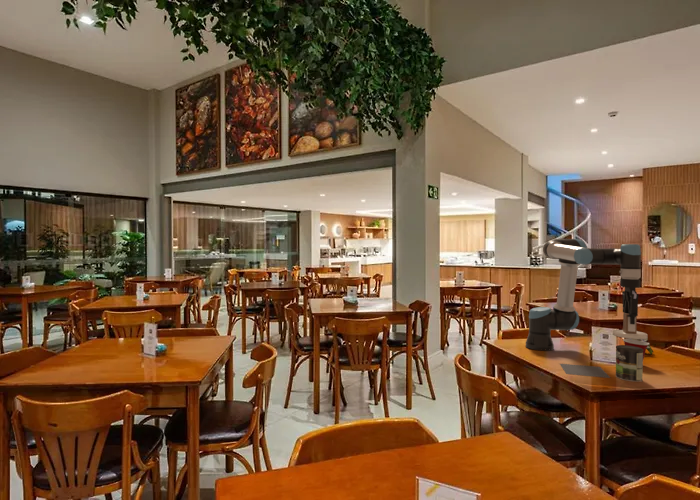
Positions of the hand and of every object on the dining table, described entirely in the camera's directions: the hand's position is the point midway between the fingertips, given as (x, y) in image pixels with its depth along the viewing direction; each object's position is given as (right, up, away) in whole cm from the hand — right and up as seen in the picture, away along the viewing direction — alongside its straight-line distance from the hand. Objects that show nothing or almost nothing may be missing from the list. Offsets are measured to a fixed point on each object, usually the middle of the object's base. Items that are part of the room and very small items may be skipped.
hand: (629, 330), depth 186 cm
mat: (-14, -22, +11) cm, 28 cm away
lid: (0, -3, 0) cm, 3 cm away
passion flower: (+37, -22, +47) cm, 64 cm away
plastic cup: (+19, -22, +24) cm, 37 cm away
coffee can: (0, -22, 0) cm, 22 cm away
